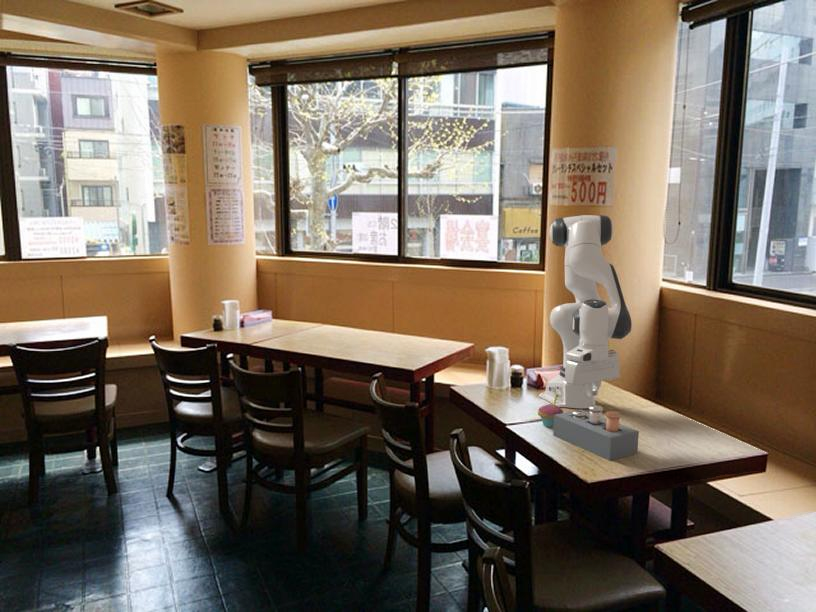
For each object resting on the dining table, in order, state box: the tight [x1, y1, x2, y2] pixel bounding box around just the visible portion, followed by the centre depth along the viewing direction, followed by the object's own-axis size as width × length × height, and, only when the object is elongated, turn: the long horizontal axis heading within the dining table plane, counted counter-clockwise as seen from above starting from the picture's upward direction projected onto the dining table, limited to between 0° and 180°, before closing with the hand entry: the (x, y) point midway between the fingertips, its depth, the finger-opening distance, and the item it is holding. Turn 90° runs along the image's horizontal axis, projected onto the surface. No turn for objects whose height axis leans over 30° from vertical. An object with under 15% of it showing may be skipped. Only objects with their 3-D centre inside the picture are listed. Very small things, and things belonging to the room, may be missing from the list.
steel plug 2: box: [588, 404, 604, 426], centre depth 202 cm, size 4×4×8 cm
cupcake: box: [537, 391, 564, 428], centre depth 219 cm, size 9×8×12 cm
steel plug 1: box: [572, 409, 586, 419], centre depth 208 cm, size 4×4×8 cm
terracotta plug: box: [605, 410, 621, 433], centre depth 196 cm, size 4×4×8 cm
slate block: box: [552, 409, 640, 461], centre depth 202 cm, size 24×12×7 cm, turn 30°
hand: (592, 395), depth 201 cm, fingers closed
